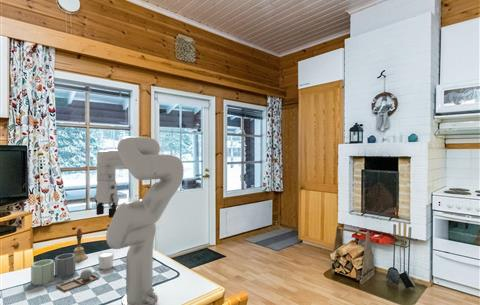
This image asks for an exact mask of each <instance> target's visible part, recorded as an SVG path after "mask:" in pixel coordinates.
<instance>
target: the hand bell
mask: <svg viewBox="0 0 480 305" xmlns="http://www.w3.org/2000/svg"><path fill="white" fill-rule="evenodd" d="M75 237H76V240H77V245H76V247H75V248H74V249H73V254H75V263H76V262H80V261H85V260H87V259H88V258H89V257H88V255H87V254H86V252H85V249H84V247H82V238H83V231H82V229H81V228H77V231H76V236H75Z"/></svg>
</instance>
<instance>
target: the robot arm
mask: <svg viewBox="0 0 480 305" xmlns="http://www.w3.org/2000/svg"><path fill="white" fill-rule="evenodd" d="M160 150H161V147H160V143H159V142H158V141H157V140H156V139H154V138H152V137H149V136H148V137H147V136H146V137H145V136H144V137H143V136H124V137H123V138H121V139H120V140H119V142H118V144H117V149H106V150H103V149H102V150H98V151H97V153H96V182H97V183H96V194H95V195H94V200H95V201H94V202H95V206H96V207H95V208H96V211H95V212H96V215H97V216H99V215H104V213H105V211H104V210H105V205H104V204H106V205H108V207H109V208H108V218H109V219H111V221H110V222H109V224H108V225H109V226H108V227H107V230H106V237H105V239H106V243H107V245H108V247H109V248H110V249H113V250H121V249H124V248H128V247H129V248H128V250H127V252H126V257H125V258H126V263H125V264H126V266H125V268H126V270H125V272H126V274H125V277H126V278H125V280H126V281H125V282H126V283H125V284H126V286H125V292H126V293H125V295H124V296H123V297H122V298H121V305H153V304H154V303H155V302H156V300H157V299H158V295H157V292H156V291H155V289H154V288H153V283H154V282H153V279H154V278H153V277H154V276H153V264H154V263H153V262H154V260H153V259H154V256H153V255H154V241H155V236H156V235H155V234H156V227H157V226H156V223H157V222H158V221H159V220H160V218H161V217H162V215H163V213H164V211H165V210H166V208H167V207H168V205H169V203H170V201H171V200H172V198H173V196H174V195H175V194H176V193H177V191H178V190H179V188H180V187H181V184H182V182H183V179H184V164H183V162H182V160H181V159H180V158H179V157H177V156H175V155H173V154H159V153H160ZM124 167H125V168H127V171H128V172H129V173H130V174H131V176H132V177H133V178H134V179H136V180H138V181H149V180H150V181H151V180H152V181H153V180H157V181H155V182H154V183H153V184H151V186H150V187H149V188H148V189H147V192H146V193H145V195H144V196H143V197H142V198H140V199H136V200H135V199H134V200H131V201H125V202H122V203H120V205H119V202H120V200H119V198H118V195H119V194H118V186H117V185H118V184H117V180H116V168H124ZM118 205H119V206H118Z"/></svg>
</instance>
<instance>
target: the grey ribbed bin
mask: <svg viewBox="0 0 480 305" xmlns="http://www.w3.org/2000/svg"><path fill="white" fill-rule="evenodd" d="M75 272H76V262H75V254H74V252H73V253H72V252H70V253H63V254H59V255H57V256H56V257H54V277H55V276H56V277H58V278H59V277H61V278H62V277H67V276H70V275H73V274H74V273H75Z"/></svg>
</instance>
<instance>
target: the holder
mask: <svg viewBox="0 0 480 305" xmlns="http://www.w3.org/2000/svg"><path fill="white" fill-rule="evenodd" d="M99 278H100V276H98V275H96V274H93V273H92V276H91V277H90V278H89V279H88V280H82V279H81V277H76V278H73V279H72V280H69V281H66V282H63V283H61V284H60V283H59V284H56V288H57V289H58V290H60V291H63V292H64V293H65V292H68V291H71V290H74V289H76V288H78V287H81V286H84V285H87V284H89V283H92V282H94V281H97V280H99Z"/></svg>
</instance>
